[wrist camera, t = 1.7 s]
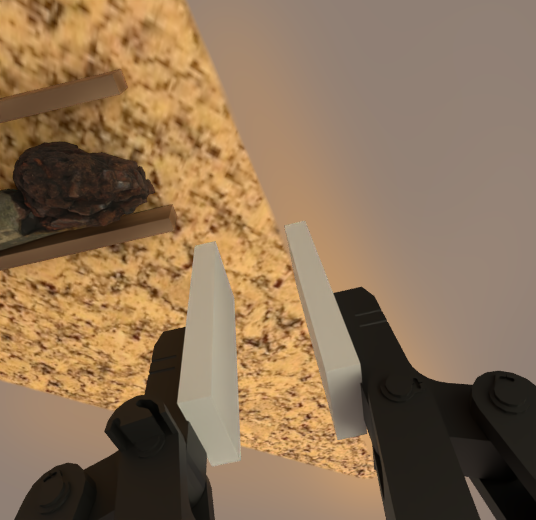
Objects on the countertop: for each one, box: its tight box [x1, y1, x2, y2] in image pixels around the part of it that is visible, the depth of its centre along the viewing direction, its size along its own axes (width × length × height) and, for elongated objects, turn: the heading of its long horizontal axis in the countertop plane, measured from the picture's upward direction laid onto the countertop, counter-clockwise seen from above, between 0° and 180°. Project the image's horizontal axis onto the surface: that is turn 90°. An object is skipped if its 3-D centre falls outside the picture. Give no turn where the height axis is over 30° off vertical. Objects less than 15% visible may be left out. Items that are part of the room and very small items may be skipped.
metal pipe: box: [0, 142, 155, 250], centre depth 28 cm, size 18×7×6 cm, turn 104°
